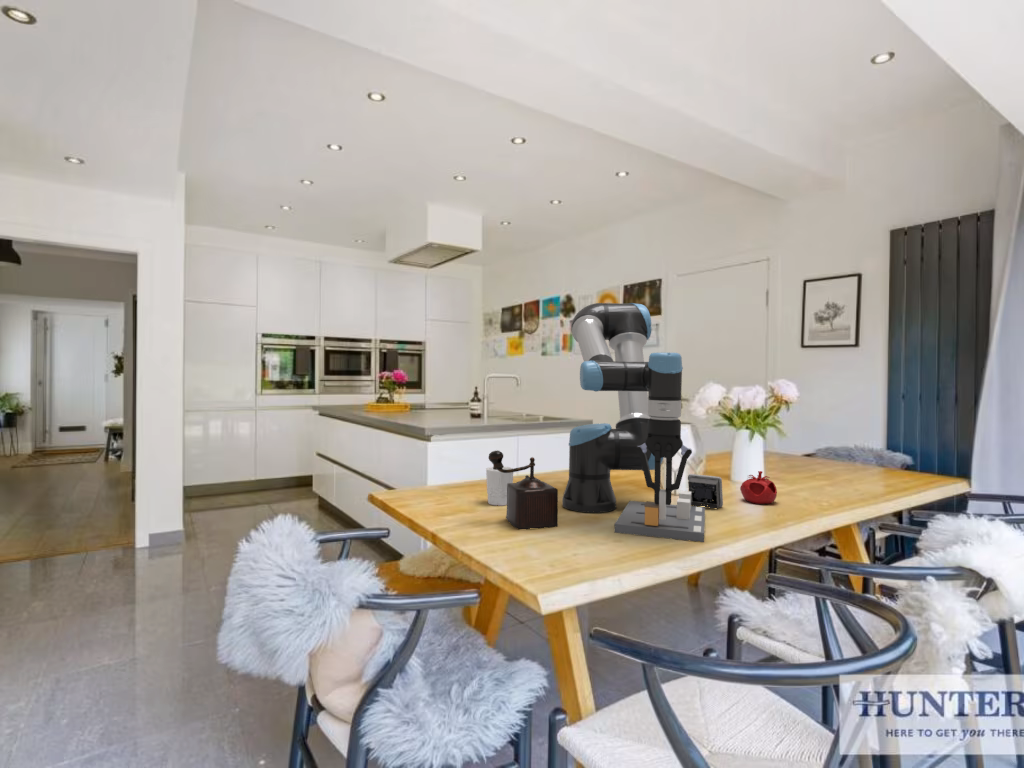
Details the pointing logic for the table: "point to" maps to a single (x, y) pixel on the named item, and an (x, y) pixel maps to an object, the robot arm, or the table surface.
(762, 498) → the pomegranate
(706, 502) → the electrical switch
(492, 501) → the white cup
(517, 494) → the manual coffee grinder
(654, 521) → the brown rectangular block
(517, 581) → the table surface
